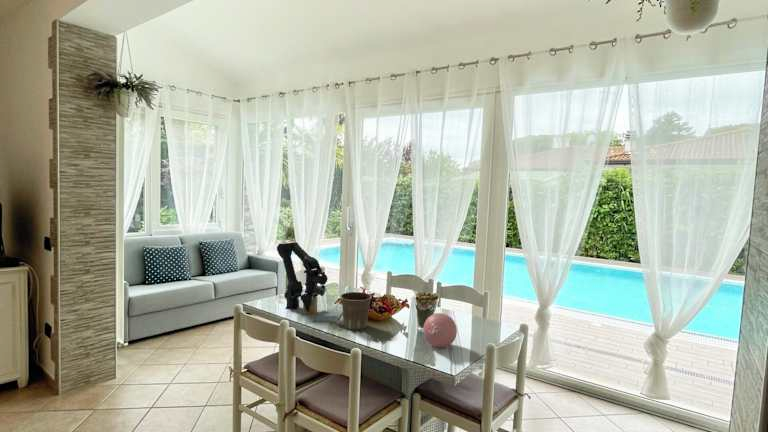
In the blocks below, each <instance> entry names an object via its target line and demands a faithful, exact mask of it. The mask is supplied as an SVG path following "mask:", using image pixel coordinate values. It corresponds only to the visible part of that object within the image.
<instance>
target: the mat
mask: <svg viewBox="0 0 768 432" xmlns="http://www.w3.org/2000/svg"><path fill="white" fill-rule="evenodd" d="M341 316H343V311H335V310H324V309H323V310H321V311H320V313H319V314H318V315H317V316H316V317H315V318H314V319H313V321H314V322H323V323H324V322H326V323H337V322H338V320H339V319H340V318H341Z"/></svg>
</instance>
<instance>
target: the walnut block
mask: <svg viewBox="0 0 768 432" xmlns="http://www.w3.org/2000/svg"><path fill="white" fill-rule="evenodd" d="M302 307H303V308H302V314H303V315H314V316H315V315H317V313H318V296H317V297H313V300H312V301H311V302H310V308H309V311H307V310H306V308H305V306H304V304H303V303H302Z"/></svg>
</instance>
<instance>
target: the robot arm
mask: <svg viewBox="0 0 768 432" xmlns="http://www.w3.org/2000/svg"><path fill="white" fill-rule="evenodd" d="M276 251H277V253H278V255H279V257H280V258H282V261H283V266H284V269H285V273H286V277H287V281H288V283H287V285H286V291H285V293H284V294H283V296H284V297H283V298H285V299H286V307H285V309H289V310H297V309H299V308H300V302H302V305H303V304H304V306H305V308H306V310H307V311H309V308H310V302H311V301H312V300H313V297H317V298H318V296H321V297H323V296H324V295H325V293H326V291H327V288H326V283H327V282H328V276H327V274H326V272H325V271H323V270H322V267H321V266H320V263H319V261H318V259H316V257H313V256H311V255H309V254H308V253H307V252H306V251H305V249H303V248H302V247H301V246H300V244H299V243H298V242H297V241H293V242H284V243H283V242H282V243H278V244H277V247H276ZM293 253H294V254H295V255H296V256H297V258H298V259H300V261H301V262H302V266H303V267H304V269H305V270H304V271H303V273H304V274H305V283H304V286H305V290H304V293H303V289H304V287H303V283H302V281H299V280H298V278H297V275H296V271H295V266H294V264H293V260H292V254H293ZM318 284H319V285H320V286H319V285H318ZM299 298H300V299H299Z"/></svg>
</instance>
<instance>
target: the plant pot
mask: <svg viewBox="0 0 768 432" xmlns="http://www.w3.org/2000/svg"><path fill="white" fill-rule="evenodd" d="M340 298H341V305H342V312H343V313H342V318H343V319H342V322H343V324H342V325H343V327H344V328H345V329H346V330H352V331H358V330H365V329H366V328H367V327H368V317H369V311H370V306H371V302H372V301H371V300H372V298H373V297H372V295H371V294H369V293H366V292H359V291H358V292H357V291H353V292H352V291H349V292H345V293H342V294H340Z"/></svg>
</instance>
